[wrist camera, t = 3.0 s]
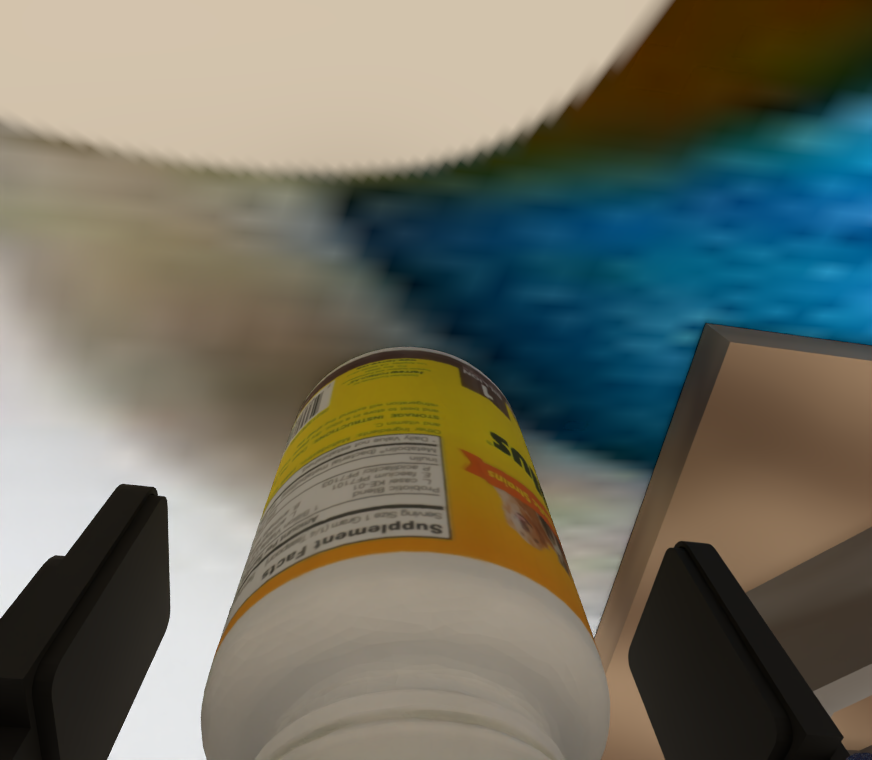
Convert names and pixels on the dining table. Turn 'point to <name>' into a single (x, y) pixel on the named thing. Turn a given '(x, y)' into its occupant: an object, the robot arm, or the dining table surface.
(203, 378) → the dining table surface
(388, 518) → the supplement bottle
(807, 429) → the board
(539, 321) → the dining table surface
